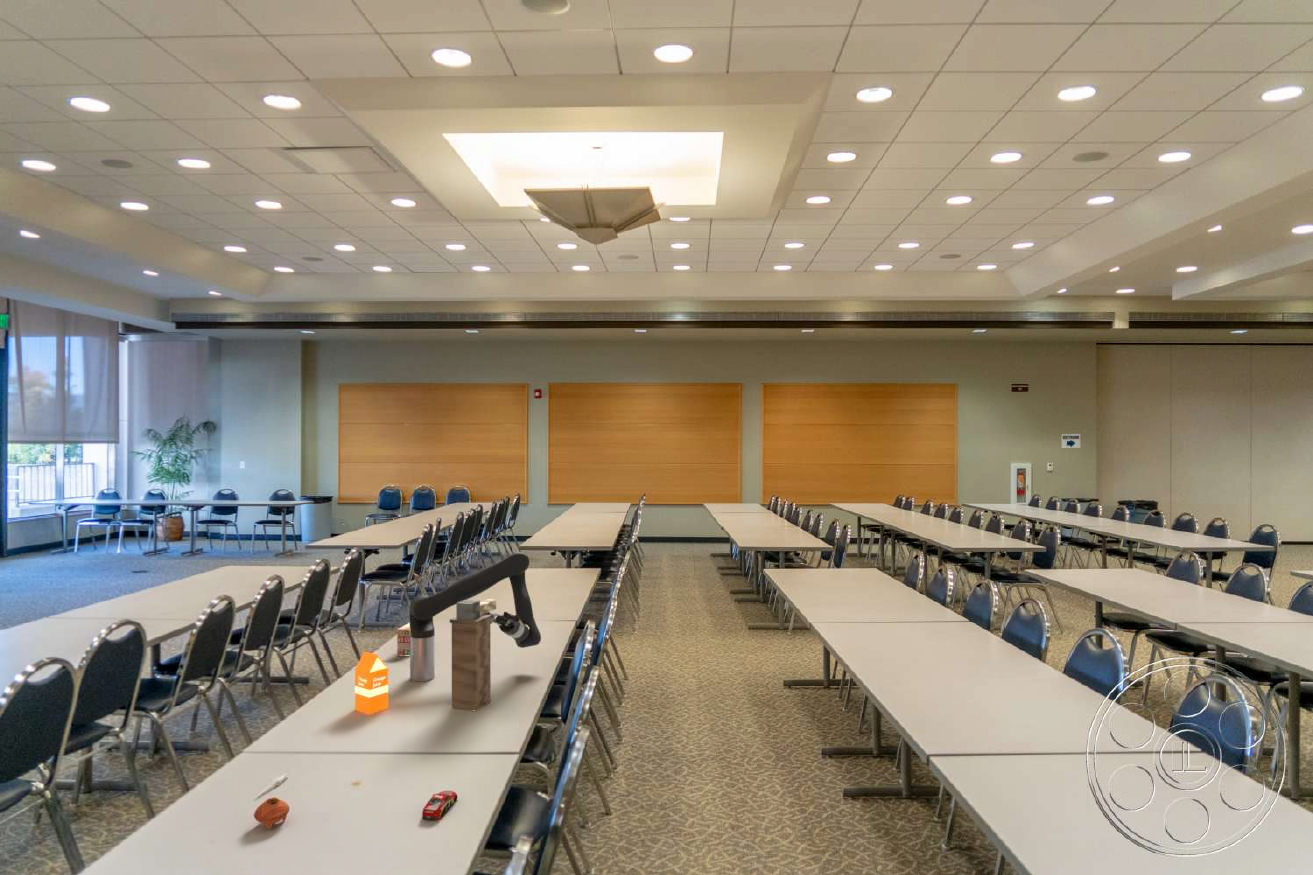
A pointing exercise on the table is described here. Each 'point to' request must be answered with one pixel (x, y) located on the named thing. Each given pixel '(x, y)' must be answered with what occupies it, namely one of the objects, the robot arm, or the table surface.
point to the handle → (473, 609)
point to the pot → (271, 812)
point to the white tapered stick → (273, 784)
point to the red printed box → (404, 640)
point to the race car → (439, 805)
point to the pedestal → (471, 663)
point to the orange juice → (371, 684)
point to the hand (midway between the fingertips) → (494, 613)
